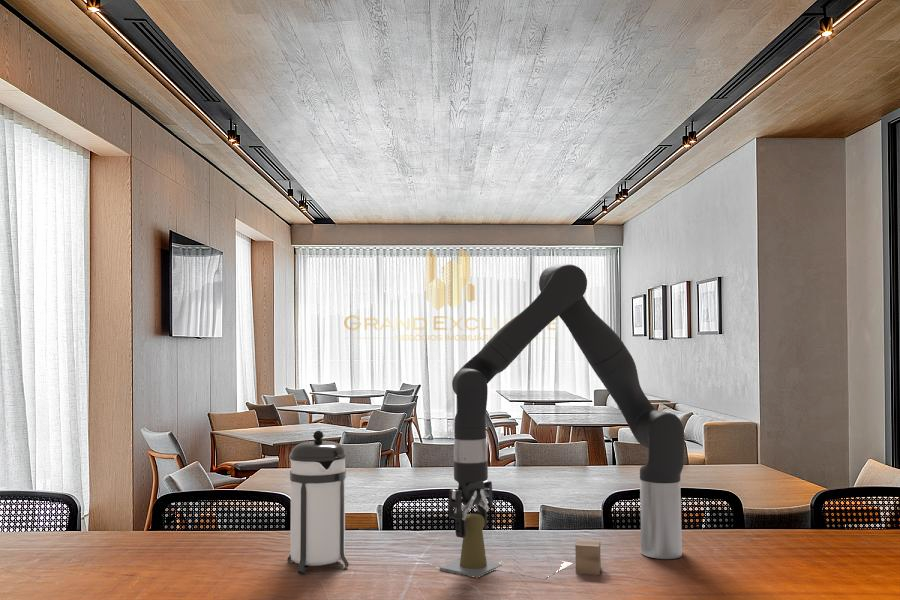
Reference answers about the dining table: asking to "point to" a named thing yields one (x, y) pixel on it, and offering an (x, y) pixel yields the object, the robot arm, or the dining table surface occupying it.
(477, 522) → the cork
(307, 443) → the coffee press
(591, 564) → the walnut block
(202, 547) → the dining table surface
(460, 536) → the robot arm
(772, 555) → the dining table surface
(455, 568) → the slate coaster
